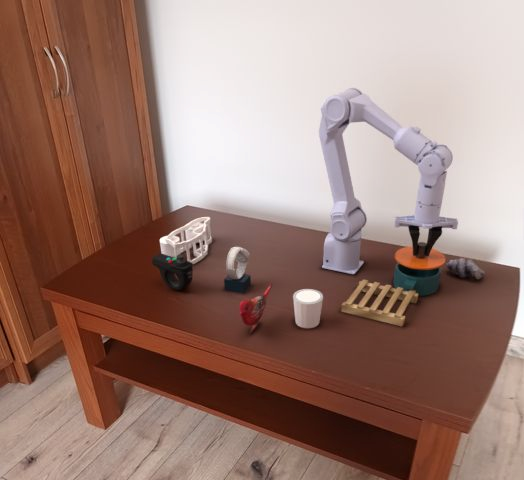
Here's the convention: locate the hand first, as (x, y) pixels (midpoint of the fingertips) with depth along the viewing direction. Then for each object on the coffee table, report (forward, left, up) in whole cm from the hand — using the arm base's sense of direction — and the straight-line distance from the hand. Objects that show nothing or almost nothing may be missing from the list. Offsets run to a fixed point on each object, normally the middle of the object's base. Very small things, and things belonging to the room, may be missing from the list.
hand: (420, 254), depth 131 cm
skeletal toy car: (-64, -9, -9) cm, 65 cm away
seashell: (+10, +10, -9) cm, 17 cm away
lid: (0, 0, -1) cm, 1 cm away
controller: (-56, -28, -9) cm, 63 cm away
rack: (-5, -14, -9) cm, 17 cm away
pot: (0, 0, -9) cm, 9 cm away
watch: (-41, -21, -9) cm, 47 cm away
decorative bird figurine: (-28, -34, -9) cm, 45 cm away
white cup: (-18, -28, -9) cm, 34 cm away
